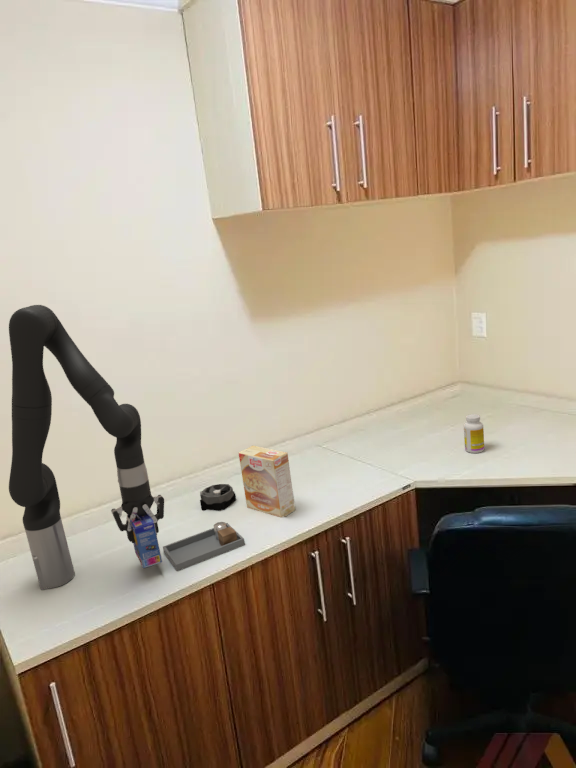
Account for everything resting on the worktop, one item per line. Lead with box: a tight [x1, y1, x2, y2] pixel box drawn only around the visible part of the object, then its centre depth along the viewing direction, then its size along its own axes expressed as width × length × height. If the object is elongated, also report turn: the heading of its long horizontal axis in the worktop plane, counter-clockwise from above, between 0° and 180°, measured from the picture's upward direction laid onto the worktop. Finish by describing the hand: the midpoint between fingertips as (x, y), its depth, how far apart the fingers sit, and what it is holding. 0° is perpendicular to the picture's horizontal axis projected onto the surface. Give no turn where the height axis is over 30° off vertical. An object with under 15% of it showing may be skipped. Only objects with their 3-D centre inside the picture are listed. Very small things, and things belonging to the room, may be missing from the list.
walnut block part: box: [217, 526, 237, 546], centre depth 166 cm, size 4×4×4 cm
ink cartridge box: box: [132, 514, 163, 569], centre depth 157 cm, size 10×6×14 cm, turn 27°
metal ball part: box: [213, 521, 227, 540], centre depth 170 cm, size 4×4×4 cm
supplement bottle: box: [463, 413, 485, 454], centre depth 208 cm, size 7×7×13 cm
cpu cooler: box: [199, 483, 237, 512], centre depth 192 cm, size 10×6×10 cm
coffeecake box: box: [238, 445, 296, 518], centre depth 183 cm, size 15×7×20 cm, turn 49°
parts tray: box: [162, 522, 246, 572], centre depth 165 cm, size 20×12×2 cm, turn 119°
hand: (144, 537), depth 158 cm, fingers closed on ink cartridge box, 5 cm apart
